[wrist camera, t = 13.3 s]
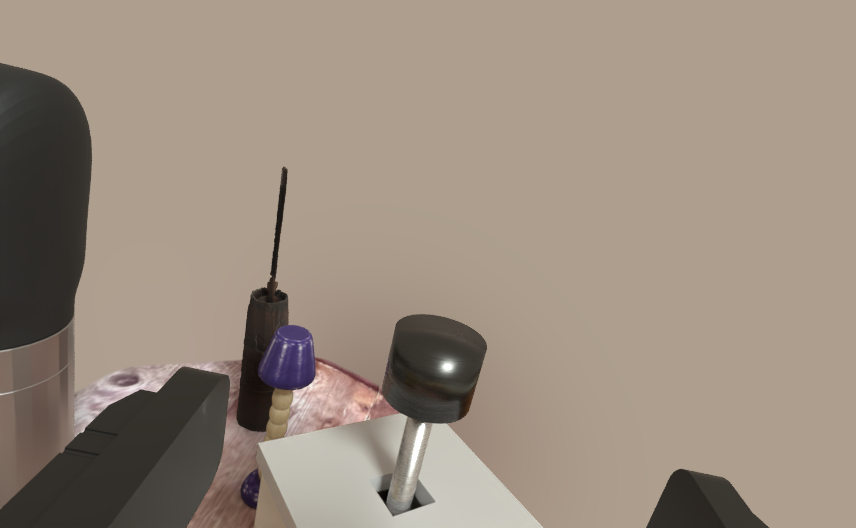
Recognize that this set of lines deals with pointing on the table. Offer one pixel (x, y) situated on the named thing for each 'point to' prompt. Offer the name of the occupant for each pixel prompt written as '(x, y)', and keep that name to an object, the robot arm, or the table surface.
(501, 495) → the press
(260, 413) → the butter churn
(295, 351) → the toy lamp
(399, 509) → the plunger
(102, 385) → the table surface
